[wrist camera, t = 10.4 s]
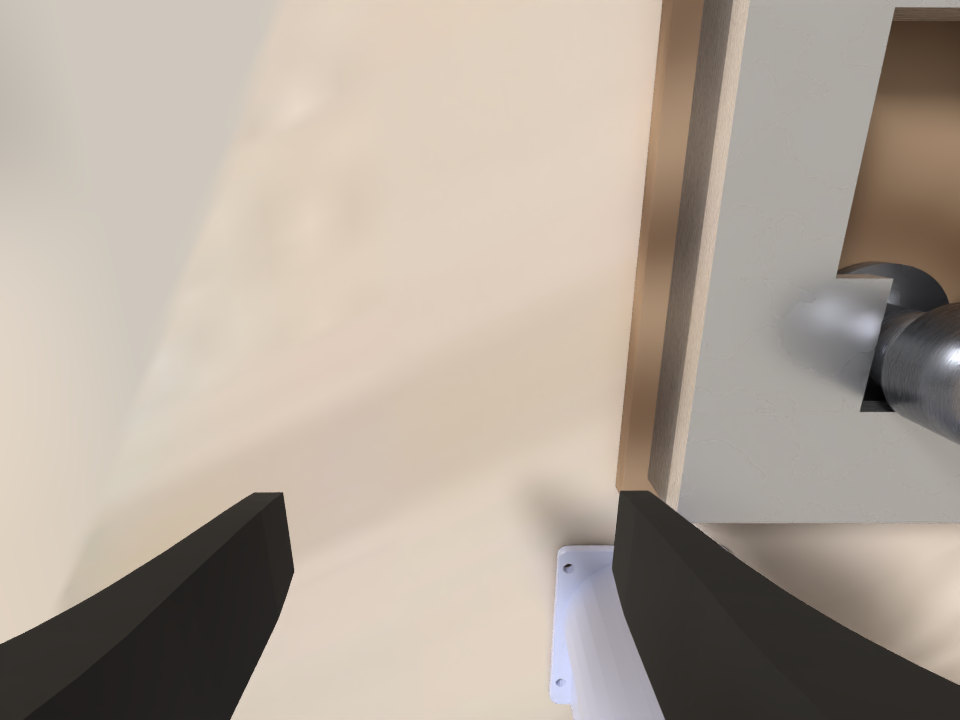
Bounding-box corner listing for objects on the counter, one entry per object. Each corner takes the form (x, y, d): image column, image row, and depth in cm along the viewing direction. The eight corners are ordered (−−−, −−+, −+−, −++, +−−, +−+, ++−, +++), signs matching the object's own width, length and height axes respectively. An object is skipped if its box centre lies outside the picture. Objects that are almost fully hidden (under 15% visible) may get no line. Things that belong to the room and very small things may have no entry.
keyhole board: (991, 486, 22) (1014, 498, 21) (615, 485, 22) (621, 498, 21) (1203, -103, 16) (1249, -123, 15) (672, -105, 16) (685, -125, 15)
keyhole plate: (998, 478, 21) (1085, 523, 18) (647, 478, 21) (675, 523, 18) (1201, -82, 15) (1379, -153, 12) (714, -84, 15) (772, -156, 12)
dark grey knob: (909, 402, 20) (1180, 525, 12) (771, 401, 20) (956, 523, 12) (951, 262, 18) (1295, 302, 10) (800, 260, 18) (1035, 299, 10)
